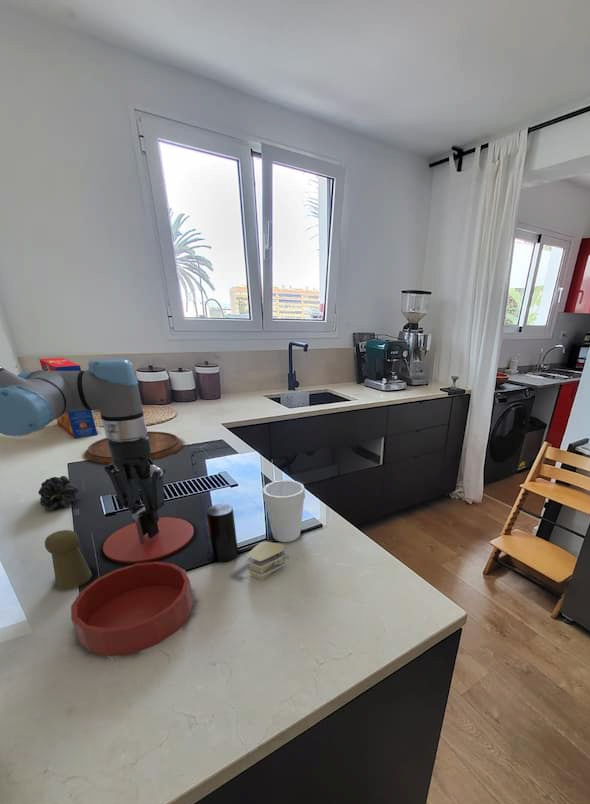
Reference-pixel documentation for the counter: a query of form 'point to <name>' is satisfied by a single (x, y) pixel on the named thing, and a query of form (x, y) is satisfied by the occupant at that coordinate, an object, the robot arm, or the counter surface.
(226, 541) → the black item
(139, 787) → the counter surface
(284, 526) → the foam cup
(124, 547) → the lid
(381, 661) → the counter surface
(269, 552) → the beige layered block
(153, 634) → the pot
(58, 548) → the cork
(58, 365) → the red and blue box
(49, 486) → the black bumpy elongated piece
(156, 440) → the cutting board
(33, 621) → the counter surface
